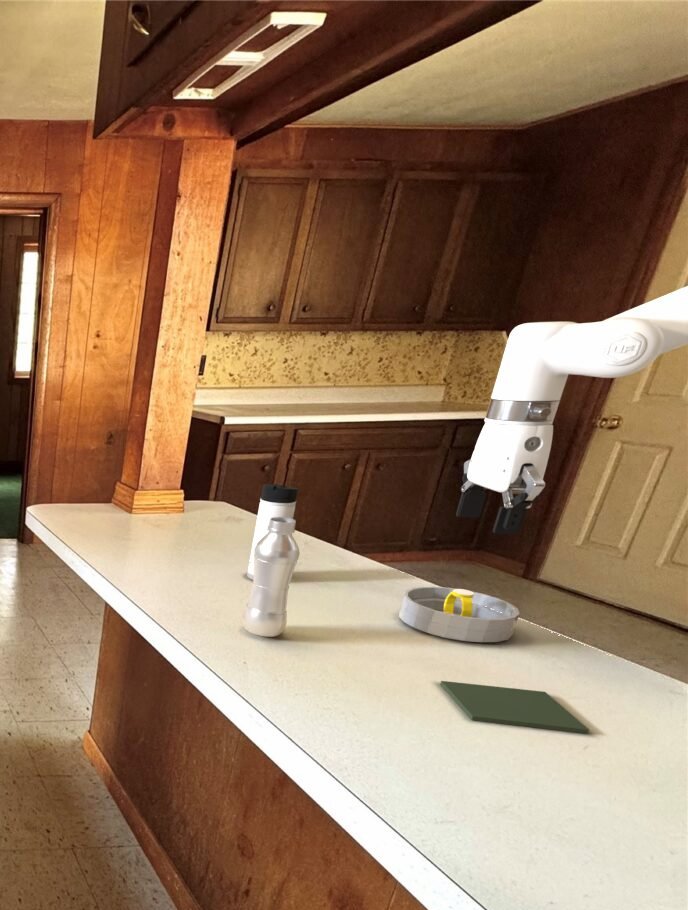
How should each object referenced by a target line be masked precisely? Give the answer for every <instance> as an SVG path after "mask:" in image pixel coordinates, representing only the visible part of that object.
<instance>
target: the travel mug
mask: <svg viewBox="0 0 688 910" xmlns="http://www.w3.org/2000/svg"><path fill="white" fill-rule="evenodd" d="M298 493H299V488H298V487H296V486H295V487H291V486H290V487H289V486H286V485H284V484H277V483H275V484H274V483H263V485H262V491H261V496H260V498H259V501H260V502H259V505H258V509H257V510H258V511H257V516H256V523H255V528H254V534H253V539H252V544H251V551H250V556H249V561H248V568H247V572H246V576H247V578H248V579H250V580H251V581H253V575H254V550H255V547H256V545H257V543H258V542H259V541H260V540H261V539H262V538H263V537H264V536H265V535H267V534H268V533H269V531H268V530H267V529H268V526H269V522H270V519H271V518H273V517H284V518H290V519H294V514H295V510H296V504H297V496H298Z"/></svg>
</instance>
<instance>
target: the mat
mask: <svg viewBox="0 0 688 910" xmlns="http://www.w3.org/2000/svg"><path fill="white" fill-rule="evenodd" d="M439 685H440V686H441V687H442V688H443V690H444V691H445V692H446V693H447V694H448V695H449V696H450V697H451V699H452V700H453V701H454V702H455V703H456V704H457V705H458V706H459V708H460V709H461V710H462V711H463V712H464V713H465V715H466V716H468V718H469V719H470V720H471V721H479V722H485V723H487V722H488V723H495V724H503V725H512V726H521V727H527V728H528V727H529V728H536V729H546V730H554V731H562V732H568V733H569V732H571V733H577V734H587V735H588V733H589V732H590V729H589V728H588V727H587V726H586V725H584V724H583V723H582V721H579V719H577V718H576V717H575V716H574V715H572V713H570V712H569V711H568V710H567V709H566V708H565V707H564V706H562V705H561V704H560V703H559V702H557V701H556V700H555V699H554V698H553V697H552V696H551V695H550V694H549V693H547V692H546V691H541V690H533V689H522V688H513V687H504V686H493V685H485V684H474V683H465V682H456V681H447V680H440V683H439Z"/></svg>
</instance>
